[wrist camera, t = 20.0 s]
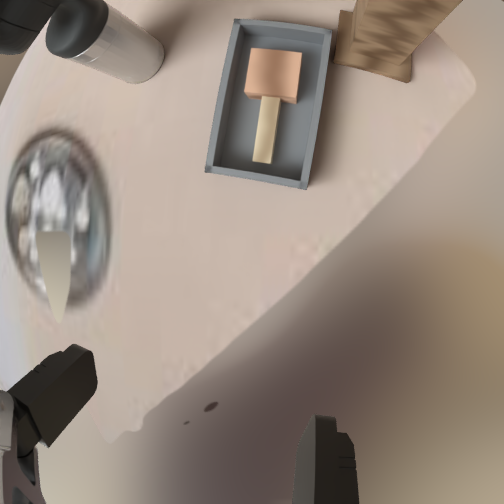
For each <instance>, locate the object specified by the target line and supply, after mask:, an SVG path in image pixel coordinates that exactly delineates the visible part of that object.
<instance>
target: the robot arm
mask: <svg viewBox="0 0 504 504" xmlns="http://www.w3.org/2000/svg"><path fill="white" fill-rule="evenodd" d="M50 17H51V19H50V22H49V25H48V28H47V32H46V46H47V48H48V50H49V51H50V52H51V53H52V54H54V55H56V56H59V57H62V58H65V59H68V60H71V61H74V62H77V63H80V64H82V65H85V66H88V67H91V68H93V69H96V70H98V71H101V72H104V73H106V74H109V75H111V76H114V77H116V78H118V79H121V80H123V81H125V82H128V83H132V84H138V83H142V82H144V81H146V80H148V79H149V78H151V77H152V76H153V75H154V74H155V73H156V72H157V71H158V70H159V68H160V66H161V65H162V62H163V59H164V48H163V46H162V44H161V43H160V42H159V41H158V40H156V39H155V38H154V37H153V36H151V35H150V34H149V33H148V32H146V31H145V30H144V29H142V28H141V27H140V26H138V25H137V24H136V23H134V22H133V21H132V20H130V19H129V18H128V17H126V16H125V15H123V14H122V13H121V12H119V11H118V10H116V9H115V8H113V7H112V6H110V5H109V4H107V3H106V2H104V1H103V0H0V54H7V55H15V54H20V53H22V52H24V51H26V50H27V49H28V48H29V47H30V45H31V44H32V43H33V41H34V40H35V39H36V37H37V36H38V34H39V33H40V31H41V30H42V28H43V27H44V25H45V24H46V23H47V21H48V20H49V18H50ZM97 383H98V381H97V375H96V369H95V363H94V356H93V353H92V352H91V351H90V350H87V349H85V348H83V347H81V346H79V345H77V344H72V345H71V346H69V347H68V348H67V349H66V350H65V351H64V352H62V351H59V352H57V353H54V354H52V355H49V356H48V357H47V358H45V359H44V360H43V361H42V362H41V363H40V365H39V364H38V365H37V366H36V367H35V368H34V369H33V371H32V370H31V371H30V372H29V373H28V374H27V375H25V376H24V377H23V378H22V379H21V380H20V381H18V382H17V383H16V384H15V385H14V386H13V387H12V388H10V389H9V390H8V391H7V392H5V391H3V390H0V504H46V502H45V500H44V497H43V495H42V492H41V488H40V477H39V465H38V449H37V446H36V444H37V443H38V442H40V443H41V444H43V445H44V446H46V447H47V448H49V447H50V446H51V444H52V443H53V442H54V441H55V440H56V438H57V437H58V436H59V435H60V434H61V432H62V431H63V430H64V429H65V428H66V426H67V425H68V424H69V423H70V422H71V421H72V419H73V418H74V417H75V416H76V415H77V414H78V412H79V411H80V410H81V409H82V408H83V406H84V405H85V404H86V403H87V402H88V401H89V400H90V398H91V397H92V396H93V395H94V393H95V391H96V389H97ZM292 504H359V495H358V483H357V471H356V461H355V452H354V444H353V443H352V441H351V439H350V438H349V436H348V434H347V433H340V432H337V427H336V418H335V417H330V416H322V415H315V414H314V415H312V417H311V419H310V421H309V423H308V425H307V427H306V429H305V431H304V433H303V435H302V437H301V440H300V442H299V445H298V449H297V454H296V467H295V479H294V490H293V501H292Z"/></svg>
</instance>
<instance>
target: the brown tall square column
mask: <svg viewBox="0 0 504 504" xmlns="http://www.w3.org/2000/svg"><path fill="white" fill-rule="evenodd" d="M462 1H463V0H357V1H356V4H355V8H354V11H353V13H352V12H348V11H343V10H340V14H339V23H338V32H337V40H336V48H335V56H334V63H336V64H340V65H345V66H349V67H353V68H357V69H361V70H365V71H369V72H372V73H376V74H379V75H383V76H386V77H389V78H392V79H396V80H399V81H402V82H405V83H408V82H409V81H410V76H411V59H412V52H413V51H414V50H415V49H416V48H417V47H418V46H419V45H420V44H421V43H422V41H423V40H424V39H425V38H426V37H427V36H428V35H429V34H430V33H431V32H432V31H433V30H434V29H435V28H436V27H437V26H438V25H439V24H440V23H441V22H442V21H443V20H444V19H445V18H446V17H447V16H448V15H449V14H450V13H451V12H452V11H453V10H454V9H455V8H456V7H457V5H459V4H460V3H461V2H462ZM502 1H504V0H502Z"/></svg>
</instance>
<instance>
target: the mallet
mask: <svg viewBox="0 0 504 504" xmlns="http://www.w3.org/2000/svg"><path fill="white" fill-rule="evenodd" d="M301 67H302V53H299V52H291V51H282V50H272V49H260V48H251V53H250V59H249V65H248V71H247V77H246V83H245V89H244V92H245V94H246V95H247V96H248V98H249V99H258V100H261V106H260V113H259V119H258V126H257V133H256V140H255V147H254V154H253V161H254V162H260V163H267V164H272V161H273V155H274V148H275V141H276V134H277V127H278V120H279V114H280V107H281V102H284V103H291V104H297V97H298V90H299V83H300V75H301Z"/></svg>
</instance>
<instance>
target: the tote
mask: <svg viewBox="0 0 504 504" xmlns="http://www.w3.org/2000/svg"><path fill="white" fill-rule="evenodd" d="M331 36H332V30H329V29H324V28H319V27H313V26H307V25H300V24H293V23H285V22H276V21H265V20H250V19H234V23H233V28H232V32H231V36H230V40H229V45H228V49H227V54H226V58H225V63H224V68H223V72H222V77H221V82H220V87H219V92H218V97H217V102H216V108H215V113H214V118H213V124H212V130H211V135H210V141H209V147H208V153H207V159H206V166H205V172H207V173H214V174H220V175H226V176H233V177H239V178H245V179H250V180H256V181H262V182H267V183H272V184H278V185H283V186H288V187H293V188H298V189H303V190H307V185H308V179H309V174H310V169H311V163H312V158H313V152H314V147H315V141H316V135H317V129H318V123H319V117H320V111H321V105H322V99H323V92H324V86H325V79H326V73H327V66H328V59H329V51H330V44H331ZM251 48H260V49H272V50H282V51H291V52H299V53H302V67H301V75H300V83H299V90H298V97H297V104H291V103H284V102H281V107H280V114H279V120H278V127H277V134H276V141H275V148H274V155H273V161H272V164H267V163H260V162H254V161H253V154H254V147H255V140H256V133H257V126H258V119H259V113H260V106H261V100H258V99H249V98H248V96H247V95H246V94H245V92H244V89H245V83H246V77H247V71H248V65H249V59H250V53H251Z"/></svg>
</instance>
